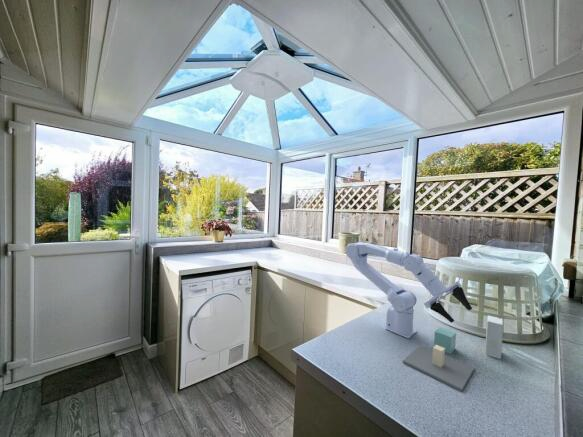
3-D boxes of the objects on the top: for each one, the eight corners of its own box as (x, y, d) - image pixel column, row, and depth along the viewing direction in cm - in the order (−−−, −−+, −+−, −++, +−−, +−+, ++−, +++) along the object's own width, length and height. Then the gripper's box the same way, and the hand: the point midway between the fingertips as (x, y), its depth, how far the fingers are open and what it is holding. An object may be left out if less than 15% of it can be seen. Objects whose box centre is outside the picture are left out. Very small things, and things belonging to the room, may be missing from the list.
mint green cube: (433, 347, 88) (434, 331, 87) (438, 342, 91) (439, 326, 91) (450, 354, 84) (451, 337, 83) (455, 348, 87) (456, 332, 87)
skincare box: (485, 347, 89) (487, 314, 88) (500, 351, 86) (503, 318, 86) (484, 354, 84) (487, 320, 84) (501, 359, 81) (503, 324, 81)
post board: (402, 362, 79) (403, 344, 78) (420, 346, 88) (421, 330, 88) (461, 391, 67) (463, 370, 66) (474, 369, 76) (475, 351, 76)
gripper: (417, 290, 86) (448, 326, 79) (450, 268, 88) (483, 301, 81) (413, 294, 92) (441, 328, 85) (443, 274, 94) (474, 305, 87)
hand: (461, 315), depth 83 cm, fingers open, 7 cm apart
